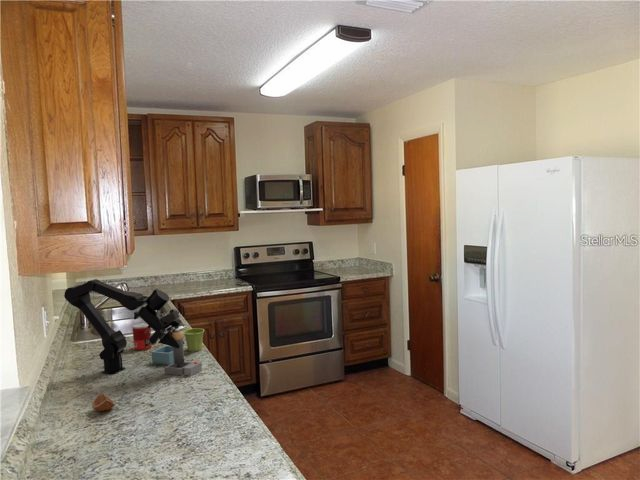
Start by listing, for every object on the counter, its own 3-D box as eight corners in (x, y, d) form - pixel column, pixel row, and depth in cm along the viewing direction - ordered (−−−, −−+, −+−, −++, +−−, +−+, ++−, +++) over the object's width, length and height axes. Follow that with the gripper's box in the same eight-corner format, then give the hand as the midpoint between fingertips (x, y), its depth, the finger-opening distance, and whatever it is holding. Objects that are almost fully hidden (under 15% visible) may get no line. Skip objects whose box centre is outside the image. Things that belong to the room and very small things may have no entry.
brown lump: (117, 412, 153) (116, 396, 152) (95, 418, 149) (93, 402, 149) (112, 403, 160) (111, 389, 159) (90, 409, 156) (89, 394, 156)
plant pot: (208, 346, 220) (207, 328, 219) (201, 353, 210) (200, 333, 210) (188, 346, 221) (187, 328, 220) (181, 353, 211) (179, 334, 211)
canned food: (148, 350, 217) (146, 326, 216) (131, 351, 218) (129, 327, 217) (154, 345, 225) (153, 322, 224) (138, 346, 225) (136, 323, 224)
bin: (169, 365, 196) (168, 353, 195) (152, 363, 199) (151, 351, 198) (183, 358, 204) (182, 346, 203) (166, 356, 207) (165, 345, 207)
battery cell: (180, 364, 185) (177, 330, 184) (171, 363, 187) (169, 330, 186) (186, 361, 189) (184, 328, 188) (178, 360, 191) (176, 327, 190)
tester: (190, 376, 182) (189, 366, 181) (164, 373, 186) (164, 364, 186) (202, 369, 189) (202, 360, 189) (177, 366, 193) (177, 357, 193)
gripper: (154, 309, 177) (185, 338, 177) (175, 299, 196) (203, 325, 195) (136, 330, 179) (166, 359, 178) (158, 318, 197) (185, 344, 197)
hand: (181, 345), depth 187 cm, fingers closed on battery cell, 4 cm apart
